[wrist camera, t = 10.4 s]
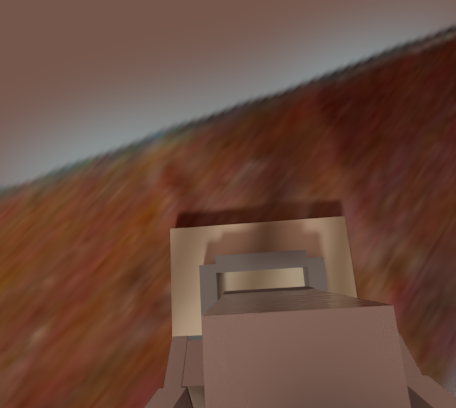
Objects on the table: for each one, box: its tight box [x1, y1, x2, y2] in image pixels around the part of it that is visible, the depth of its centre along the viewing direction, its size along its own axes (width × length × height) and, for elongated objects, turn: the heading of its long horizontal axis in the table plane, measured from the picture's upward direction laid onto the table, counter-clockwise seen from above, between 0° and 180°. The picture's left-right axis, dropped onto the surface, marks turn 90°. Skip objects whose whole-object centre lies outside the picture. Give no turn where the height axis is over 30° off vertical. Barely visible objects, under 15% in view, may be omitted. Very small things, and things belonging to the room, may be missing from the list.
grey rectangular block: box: [202, 286, 411, 408], centre depth 11 cm, size 4×4×10 cm
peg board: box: [170, 216, 357, 339], centre depth 23 cm, size 14×14×4 cm
